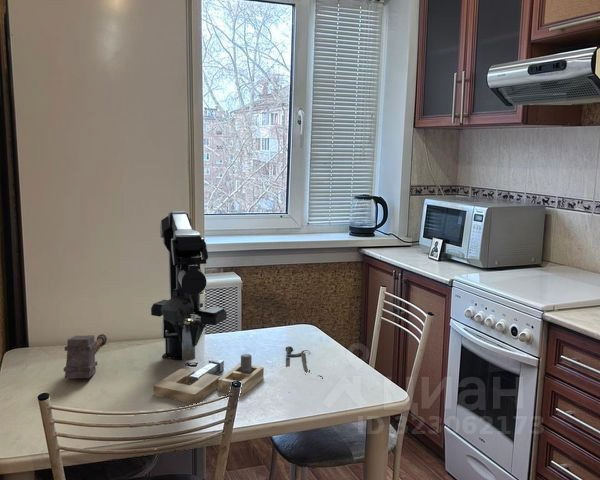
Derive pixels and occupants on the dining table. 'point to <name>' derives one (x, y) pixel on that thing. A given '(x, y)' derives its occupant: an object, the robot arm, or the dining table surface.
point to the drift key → (208, 369)
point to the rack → (242, 375)
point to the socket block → (186, 386)
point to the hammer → (82, 356)
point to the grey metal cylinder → (187, 340)
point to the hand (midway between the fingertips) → (188, 345)
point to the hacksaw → (296, 355)
